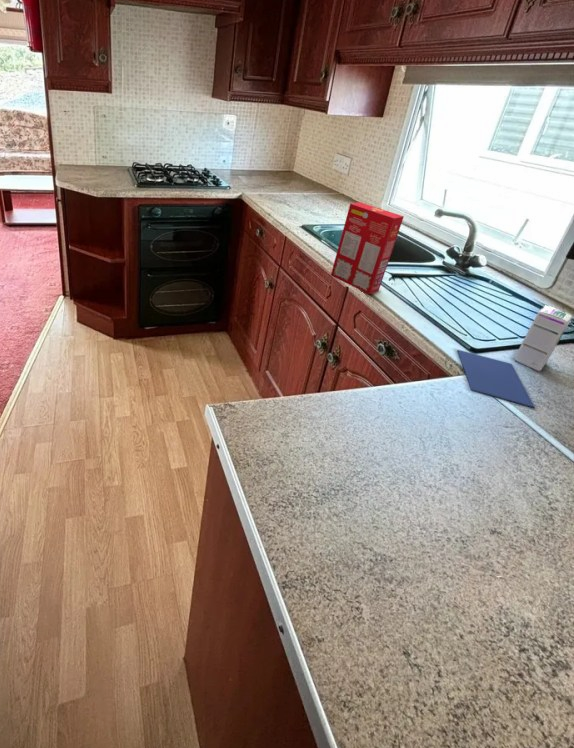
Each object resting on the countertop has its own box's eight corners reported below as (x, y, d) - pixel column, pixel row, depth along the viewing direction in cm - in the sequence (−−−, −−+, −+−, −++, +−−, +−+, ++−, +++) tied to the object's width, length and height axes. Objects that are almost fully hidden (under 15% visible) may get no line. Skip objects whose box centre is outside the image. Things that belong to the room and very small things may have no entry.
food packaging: (378, 290, 129) (403, 216, 118) (369, 294, 126) (394, 218, 115) (339, 272, 139) (359, 202, 128) (330, 275, 136) (350, 203, 125)
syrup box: (540, 372, 98) (570, 322, 91) (512, 359, 102) (539, 310, 95) (545, 364, 101) (575, 315, 95) (518, 351, 105) (545, 303, 99)
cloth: (511, 364, 99) (511, 363, 99) (534, 408, 86) (534, 407, 86) (457, 350, 103) (457, 349, 103) (471, 390, 89) (471, 389, 89)
